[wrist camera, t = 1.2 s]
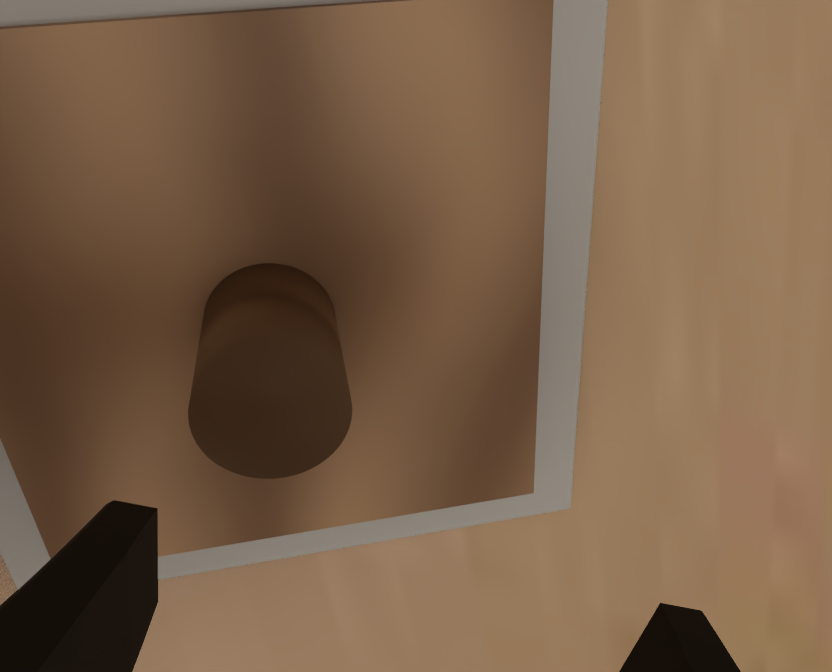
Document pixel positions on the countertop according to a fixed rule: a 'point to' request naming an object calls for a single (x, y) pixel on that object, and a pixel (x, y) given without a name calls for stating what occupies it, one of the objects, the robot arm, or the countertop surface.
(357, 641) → the countertop surface
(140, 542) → the robot arm
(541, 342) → the mat
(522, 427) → the lid
